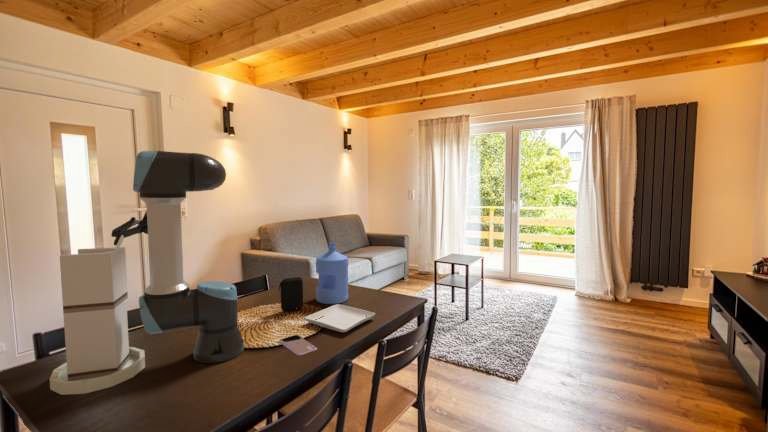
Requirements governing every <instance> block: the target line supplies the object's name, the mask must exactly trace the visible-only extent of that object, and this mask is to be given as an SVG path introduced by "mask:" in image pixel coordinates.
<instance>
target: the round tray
mask: <svg viewBox="0 0 768 432" xmlns="http://www.w3.org/2000/svg"><path fill="white" fill-rule="evenodd" d="M129 351H131V358H130V359H129V361H128V362H127V363H126V364H125V366H124V367H123V368H122V370H120V371H117V372H115V373H113V374H110V375H106V376H102V377H97V378H90V379H83V380H75V381H68V375H67V361H66V362H64V363H62V364H61V365H59V366H58V367H56V368H54V369H53V371H52V373H51V374H50V377H49V389H50V390H51V391H53V392H55V393H57V394H58V395H61V396H62V395H63V396H64V395H67V396H68V395H83V394H84V395H85V394H88V393H92V392H97V391H100V390H105V389H108V388H113V387H115V386H116V385H117V386H118V385H119V384H121V383H123V382H125V381H128V380H130V379H132V378H134V377H135V376H137V374H139V372H141V371H142V370H144V369H145V368H146V356H145V353H146V351H145V349H141V348H137V347H135V346H129Z"/></svg>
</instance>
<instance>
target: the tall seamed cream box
mask: <svg viewBox="0 0 768 432" xmlns="http://www.w3.org/2000/svg"><path fill="white" fill-rule="evenodd" d="M126 258H127V257H126V247H125V246H120V247H117V248H115V247H100V248H99V247H97V248H78V249H77V253H75V254H74V253H73V254H72V253H71V254H60V255H59V267H60V269H59V270H60V281H61V282H60V283H61V285H60V286H61V298H62V299H61V300H62V312H63V313H62V314H63V327H64V344H65V356H66V358H65V359H66V362H67V375H68V381H75V380H83V379H90V378H97V377H102V376H106V375H110V374H113V373H115V372H117V371H120V370H122V368H123V367H124V366H125V364H126V363H127V362H128V361H129V359H130V358H131V351H129V347H130V341H129V322H128V307H127V305H128V304H127V303H128V302H129V297H128V293H129V292H128V277H127V263H126V262H127V261H126V260H127V259H126Z"/></svg>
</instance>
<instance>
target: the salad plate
mask: <svg viewBox="0 0 768 432" xmlns="http://www.w3.org/2000/svg"><path fill="white" fill-rule="evenodd" d="M375 315H376V312H372V311H369V310H365V309H361V308H357V307H353V306H349V305H345V304H341V303H339V304H332V305H331V306H329V307H327V308H324V309H322V310H318V311H316V312H314V313H311V314H309V315H306V316H304V320H305V321H306V322H308V323H311V324H313V323H314V324H313V325H315V326H316V325H317V324H318V325H317V326H318V327H321V328H324V329H328V330H332V331H334V332H335V331H336V332H339V333H347V332H348V331H350V330H352V329H354V328H355V327H357V326H359V325H361V324H363V323H365V322H366V321H369V320H371V319H372V318H373V317H375ZM322 316H324V317H322ZM366 316H367V317H366ZM320 317H322V318H320ZM318 318H320V319H318ZM315 319H318V320H316V321H315ZM320 325H322V326H320Z"/></svg>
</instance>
